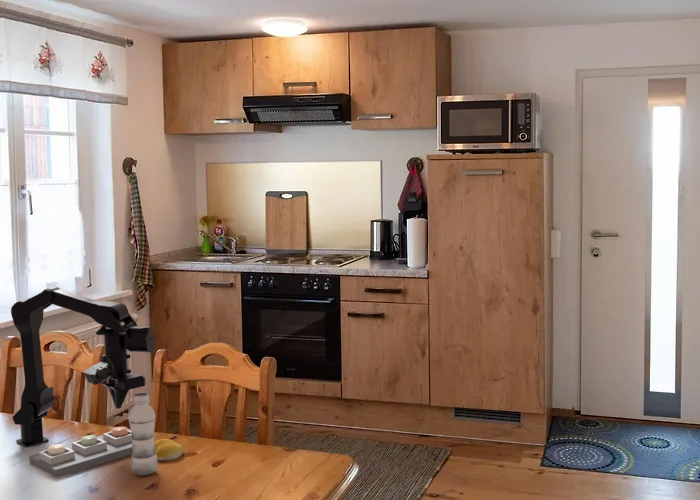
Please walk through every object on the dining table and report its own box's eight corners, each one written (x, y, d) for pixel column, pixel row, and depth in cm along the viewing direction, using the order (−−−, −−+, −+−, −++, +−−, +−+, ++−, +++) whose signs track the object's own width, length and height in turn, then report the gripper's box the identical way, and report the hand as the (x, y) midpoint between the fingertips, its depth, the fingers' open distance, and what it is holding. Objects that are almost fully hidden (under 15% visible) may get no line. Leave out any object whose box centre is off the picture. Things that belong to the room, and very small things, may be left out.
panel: (29, 463, 213) (28, 449, 212) (119, 437, 232) (119, 424, 231) (56, 477, 203) (55, 462, 203) (147, 449, 222) (147, 435, 222)
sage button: (78, 444, 217) (78, 438, 217) (92, 440, 220) (92, 434, 220) (86, 447, 214) (85, 441, 214) (100, 443, 217) (99, 437, 217)
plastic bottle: (163, 470, 207) (160, 392, 205) (148, 480, 201) (144, 399, 199) (141, 467, 209) (137, 389, 207) (125, 477, 203) (121, 397, 201)
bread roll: (161, 464, 212) (160, 449, 211) (144, 455, 219) (144, 440, 218) (189, 456, 217) (189, 441, 217) (172, 447, 224) (172, 432, 224)
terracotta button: (109, 435, 223) (109, 429, 223) (122, 431, 226) (122, 425, 226) (117, 438, 221) (117, 432, 221) (130, 435, 224) (130, 429, 223)
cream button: (45, 453, 211) (45, 447, 210) (60, 449, 213) (60, 443, 213) (53, 457, 208) (52, 450, 208) (68, 453, 211) (67, 446, 210)
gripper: (70, 350, 221) (73, 407, 223) (107, 362, 209) (109, 423, 210) (107, 343, 229) (110, 398, 231) (145, 354, 217) (147, 412, 218)
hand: (118, 408), depth 223 cm, fingers closed
